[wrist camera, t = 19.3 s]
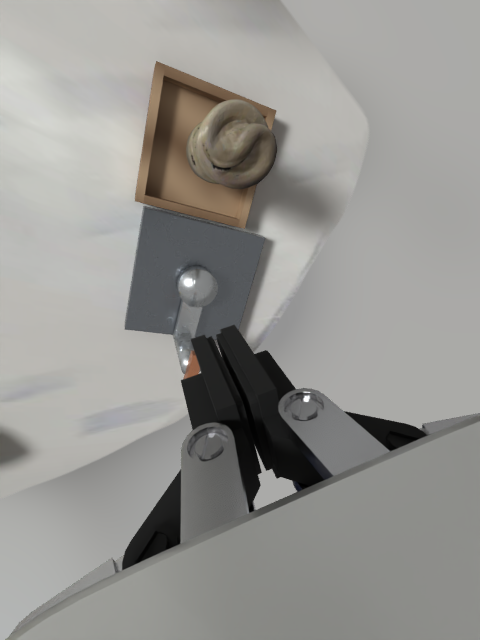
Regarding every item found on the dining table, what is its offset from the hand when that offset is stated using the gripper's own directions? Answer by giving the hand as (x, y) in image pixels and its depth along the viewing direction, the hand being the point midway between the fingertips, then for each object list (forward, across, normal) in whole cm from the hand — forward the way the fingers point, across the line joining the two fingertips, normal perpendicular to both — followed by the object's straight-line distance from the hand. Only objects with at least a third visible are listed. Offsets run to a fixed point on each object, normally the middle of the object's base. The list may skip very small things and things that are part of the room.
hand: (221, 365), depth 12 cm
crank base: (+29, -2, +7) cm, 30 cm away
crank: (+27, 0, +10) cm, 29 cm away
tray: (+29, -7, -6) cm, 30 cm away
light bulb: (+28, -7, -6) cm, 30 cm away
